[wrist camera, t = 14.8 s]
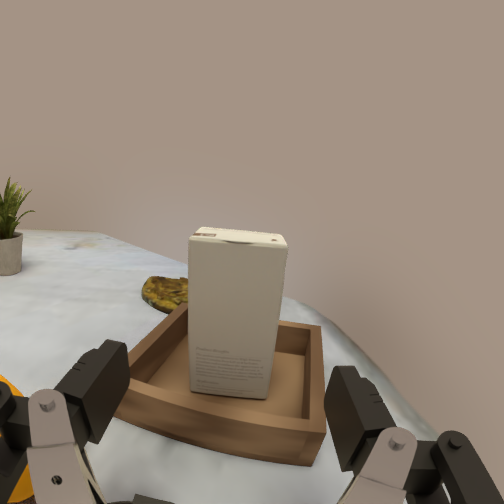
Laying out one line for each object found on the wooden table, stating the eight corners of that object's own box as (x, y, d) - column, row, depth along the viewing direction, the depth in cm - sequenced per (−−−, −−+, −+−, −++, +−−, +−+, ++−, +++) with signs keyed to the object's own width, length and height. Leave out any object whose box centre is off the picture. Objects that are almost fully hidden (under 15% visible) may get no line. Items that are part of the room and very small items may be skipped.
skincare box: (265, 370, 24) (285, 232, 21) (267, 403, 20) (293, 245, 17) (195, 362, 24) (201, 223, 21) (185, 395, 19) (188, 234, 17)
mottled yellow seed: (124, 298, 39) (198, 339, 31) (119, 268, 37) (195, 302, 30) (170, 279, 46) (245, 307, 39) (168, 251, 45) (246, 275, 37)
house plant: (-15, 260, 39) (-18, 177, 35) (42, 256, 47) (41, 174, 43) (-33, 284, 28) (-40, 179, 24) (36, 280, 36) (33, 173, 32)
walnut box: (111, 415, 16) (102, 377, 15) (181, 332, 30) (182, 302, 29) (311, 466, 14) (326, 432, 13) (313, 356, 28) (320, 326, 27)
